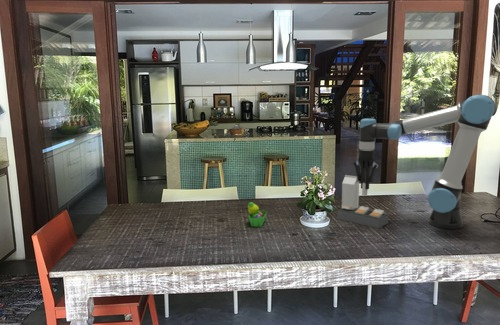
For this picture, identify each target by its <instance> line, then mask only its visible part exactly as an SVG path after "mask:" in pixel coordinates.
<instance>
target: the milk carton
mask: <svg viewBox="0 0 500 325" xmlns="http://www.w3.org/2000/svg"><path fill="white" fill-rule="evenodd" d="M341 185H342V186H341V209H343V208H342V206H343V205H344V206H350V207H355V208H358V209H359V205H360V204H359V200H360V198H359V197H360V181H358V180H357V175H347V174H345V175H344V178H343V181H342V183H341Z"/></svg>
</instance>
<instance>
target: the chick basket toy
mask: <svg viewBox="0 0 500 325" xmlns="http://www.w3.org/2000/svg"><path fill="white" fill-rule="evenodd" d="M259 209H260V207H259V206H258V205H257V204H255V203H254V202H252V201H251V202H248V205H247V211H248V213H249V215H248V220H249V223H250V226H251V227H258V228H259V227H260V228H261V227H262V226H263V224H264V222H265V219H266V216H267V211H266V210H259Z"/></svg>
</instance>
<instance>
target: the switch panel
mask: <svg viewBox="0 0 500 325" xmlns="http://www.w3.org/2000/svg"><path fill="white" fill-rule="evenodd" d="M358 209H359V207H358V208H355V209H354V210H350V209H345V208H343V209H342V208H340V209H338V211H337V213H336V214H337V216H336V217H337V218H336V219H337V220H339V221H340V220H341V221H346V222H348V223H353V224H358V225H363V226H367V227H371V228H375V229H380V228H382V227H384V226H386V225H387V224H389V215H388V214H387V213H383V214H382V215H381V216H380V217H379V218H378V217H373V216H370V214H371V213H372V212H373V211H374V210H373V211H371V210H368V211H367V212H366V213H365V214H364V215H363V214H358V213H355V211H357V210H358Z"/></svg>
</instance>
